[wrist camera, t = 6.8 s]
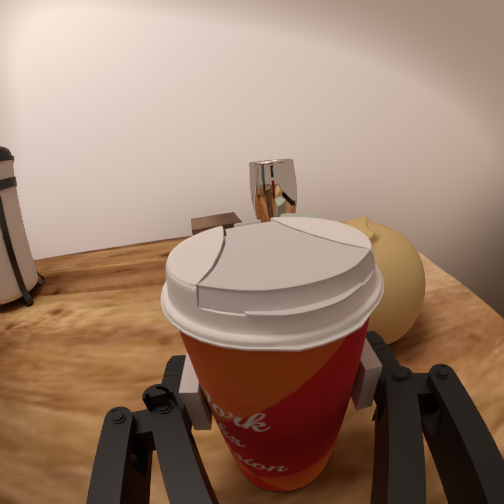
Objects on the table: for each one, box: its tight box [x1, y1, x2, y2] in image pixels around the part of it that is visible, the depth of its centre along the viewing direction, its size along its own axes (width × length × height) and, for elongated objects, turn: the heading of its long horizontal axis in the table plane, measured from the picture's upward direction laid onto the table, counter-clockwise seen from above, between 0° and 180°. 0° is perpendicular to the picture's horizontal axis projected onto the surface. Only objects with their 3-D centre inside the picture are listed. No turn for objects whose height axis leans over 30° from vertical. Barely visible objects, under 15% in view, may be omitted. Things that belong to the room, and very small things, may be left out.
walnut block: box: [191, 212, 242, 237], centre depth 32 cm, size 5×5×10 cm
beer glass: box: [249, 159, 297, 223], centre depth 44 cm, size 7×7×15 cm
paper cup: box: [161, 217, 384, 492], centre depth 12 cm, size 8×8×14 cm
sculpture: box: [340, 217, 425, 345], centre depth 24 cm, size 12×12×11 cm
